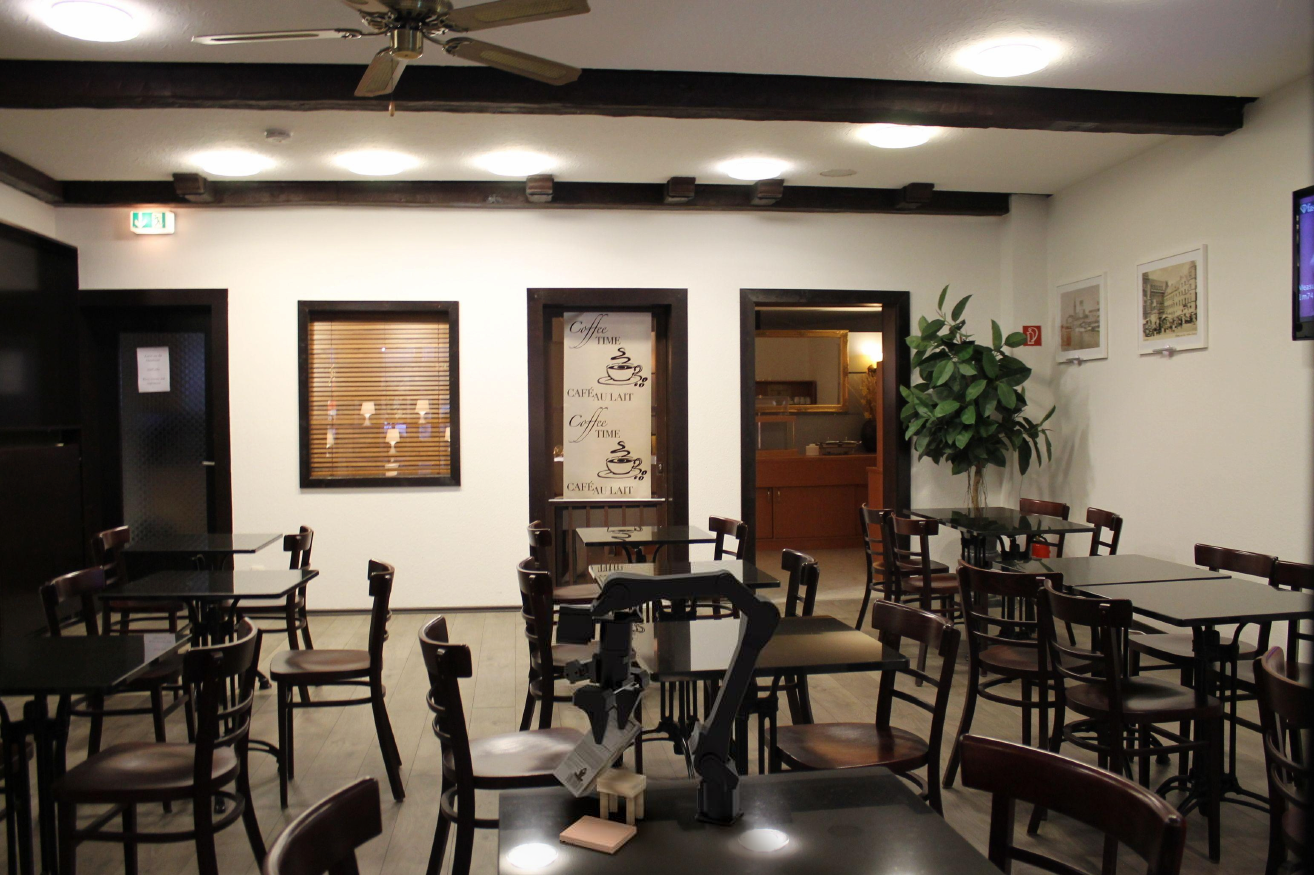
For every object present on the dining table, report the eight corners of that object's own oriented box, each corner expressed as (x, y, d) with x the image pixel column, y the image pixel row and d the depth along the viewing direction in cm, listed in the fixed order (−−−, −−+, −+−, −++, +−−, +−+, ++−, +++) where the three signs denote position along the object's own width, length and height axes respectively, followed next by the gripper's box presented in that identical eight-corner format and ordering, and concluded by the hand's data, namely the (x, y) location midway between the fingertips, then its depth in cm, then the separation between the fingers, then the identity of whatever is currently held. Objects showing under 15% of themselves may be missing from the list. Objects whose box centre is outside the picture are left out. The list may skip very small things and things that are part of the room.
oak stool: (646, 815, 155) (646, 775, 155) (632, 827, 151) (632, 786, 151) (611, 808, 159) (611, 768, 158) (597, 819, 154) (596, 779, 154)
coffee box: (562, 771, 166) (619, 703, 169) (587, 796, 164) (644, 727, 167) (551, 772, 157) (611, 701, 160) (577, 798, 155) (638, 725, 158)
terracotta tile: (636, 832, 149) (636, 826, 149) (612, 853, 142) (612, 847, 142) (585, 821, 153) (585, 815, 153) (559, 840, 146) (559, 834, 146)
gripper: (598, 630, 165) (593, 714, 165) (547, 650, 148) (542, 744, 148) (653, 639, 161) (648, 725, 161) (606, 660, 144) (601, 757, 144)
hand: (610, 736), depth 154 cm, fingers open, 8 cm apart
